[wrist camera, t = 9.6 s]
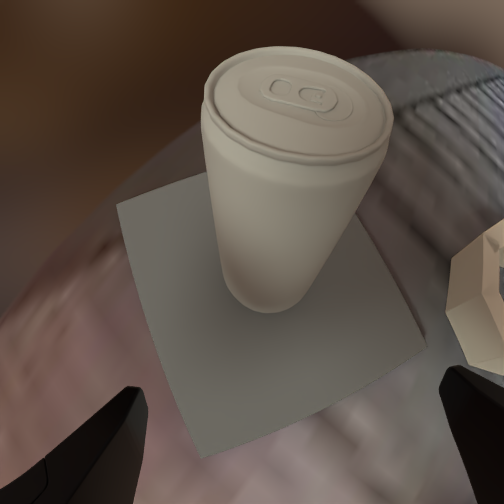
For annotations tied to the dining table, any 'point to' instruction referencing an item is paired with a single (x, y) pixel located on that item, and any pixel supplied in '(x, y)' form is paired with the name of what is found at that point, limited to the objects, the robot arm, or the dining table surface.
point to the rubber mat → (257, 323)
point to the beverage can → (287, 165)
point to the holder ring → (479, 300)
